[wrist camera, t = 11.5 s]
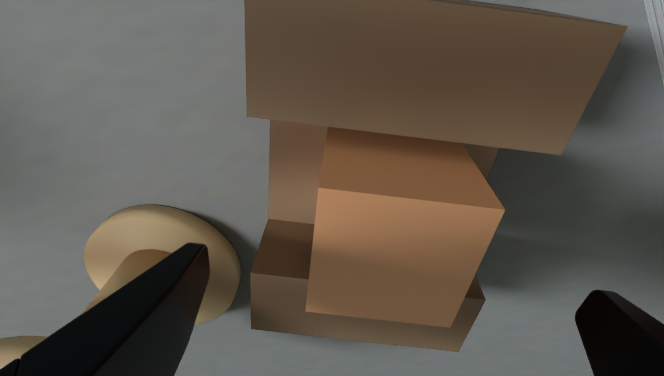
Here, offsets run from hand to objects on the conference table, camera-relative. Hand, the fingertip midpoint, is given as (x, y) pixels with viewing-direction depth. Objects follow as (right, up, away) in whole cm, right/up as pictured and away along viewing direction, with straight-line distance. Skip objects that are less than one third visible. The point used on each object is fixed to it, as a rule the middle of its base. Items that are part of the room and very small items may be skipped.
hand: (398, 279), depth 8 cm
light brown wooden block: (0, +3, +5) cm, 5 cm away
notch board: (0, +3, +6) cm, 6 cm away
